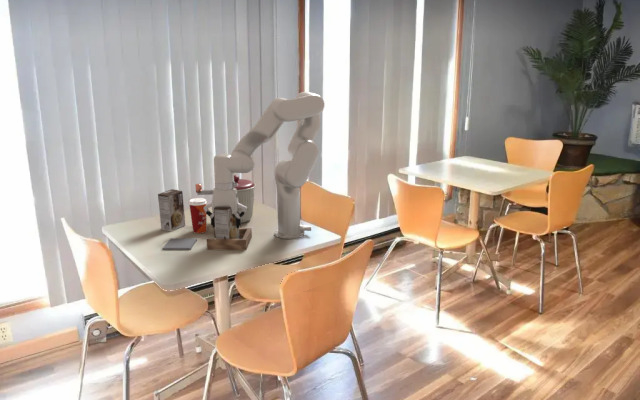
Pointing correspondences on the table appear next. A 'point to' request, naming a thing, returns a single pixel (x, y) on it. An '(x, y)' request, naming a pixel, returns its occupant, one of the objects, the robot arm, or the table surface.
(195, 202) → the paper cup
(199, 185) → the lever
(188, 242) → the mat
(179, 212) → the coffee box
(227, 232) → the coffee box
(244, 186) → the canister
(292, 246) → the table surface
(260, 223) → the table surface
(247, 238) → the wooden planter box
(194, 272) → the table surface
